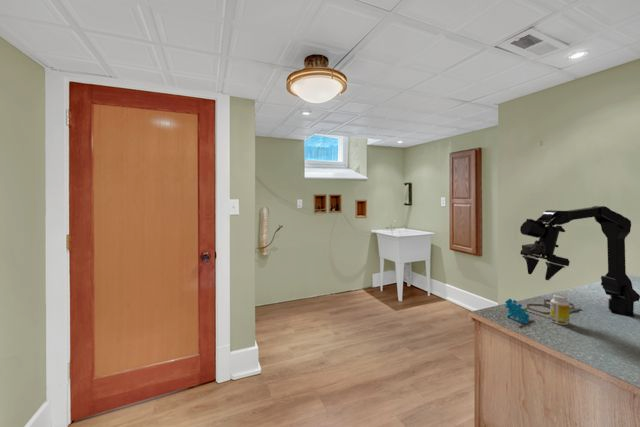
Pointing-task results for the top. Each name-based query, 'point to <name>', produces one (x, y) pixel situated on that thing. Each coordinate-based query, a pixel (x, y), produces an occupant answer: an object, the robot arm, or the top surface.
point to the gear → (517, 311)
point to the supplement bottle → (559, 310)
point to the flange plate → (545, 308)
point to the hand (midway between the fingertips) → (537, 277)
